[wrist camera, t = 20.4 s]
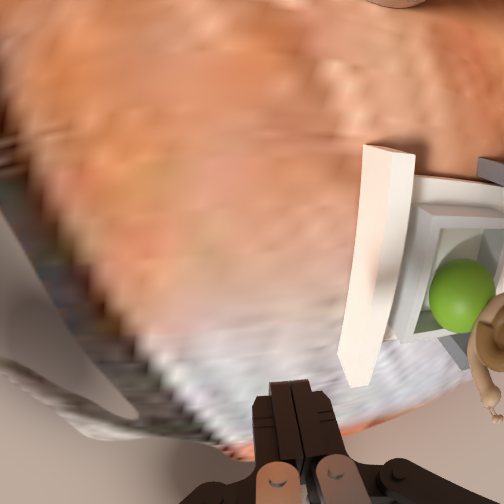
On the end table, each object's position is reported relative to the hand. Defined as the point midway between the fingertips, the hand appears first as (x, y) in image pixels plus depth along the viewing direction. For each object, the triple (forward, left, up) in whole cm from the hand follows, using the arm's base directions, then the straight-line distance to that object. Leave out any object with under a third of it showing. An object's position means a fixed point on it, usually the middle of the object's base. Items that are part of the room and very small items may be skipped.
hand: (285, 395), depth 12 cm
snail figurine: (+1, +14, -10) cm, 17 cm away
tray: (0, +15, -11) cm, 18 cm away
